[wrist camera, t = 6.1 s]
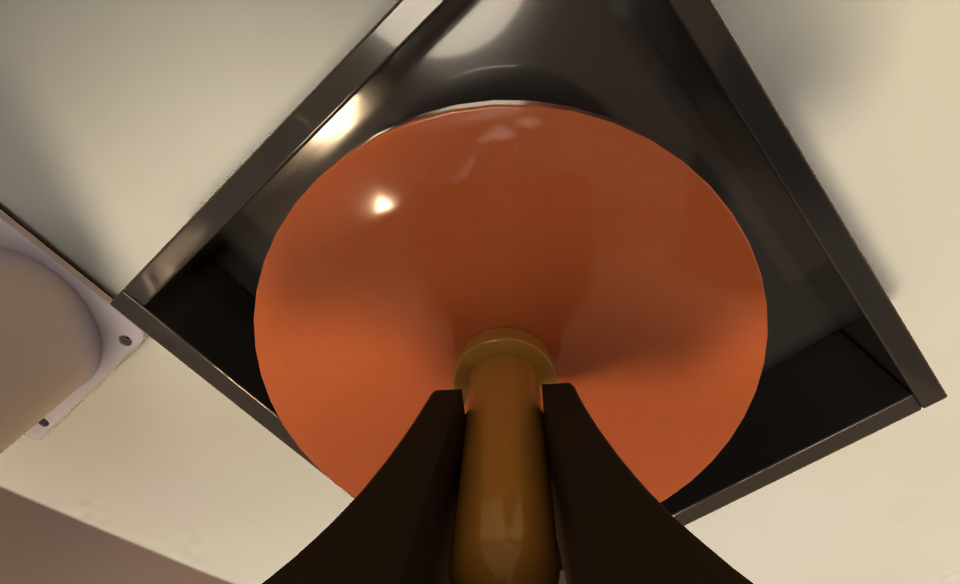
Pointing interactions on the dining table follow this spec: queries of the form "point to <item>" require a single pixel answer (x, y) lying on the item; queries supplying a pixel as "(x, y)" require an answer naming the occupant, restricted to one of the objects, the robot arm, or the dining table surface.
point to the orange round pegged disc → (510, 312)
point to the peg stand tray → (621, 97)
